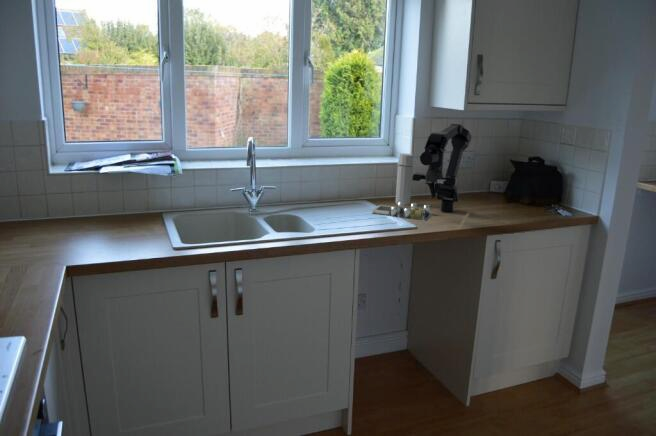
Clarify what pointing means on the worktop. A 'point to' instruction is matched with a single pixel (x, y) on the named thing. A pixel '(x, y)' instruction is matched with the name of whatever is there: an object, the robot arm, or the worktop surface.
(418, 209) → the hex nut
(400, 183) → the water bottle
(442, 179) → the robot arm
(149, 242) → the worktop surface
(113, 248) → the worktop surface
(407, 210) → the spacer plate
